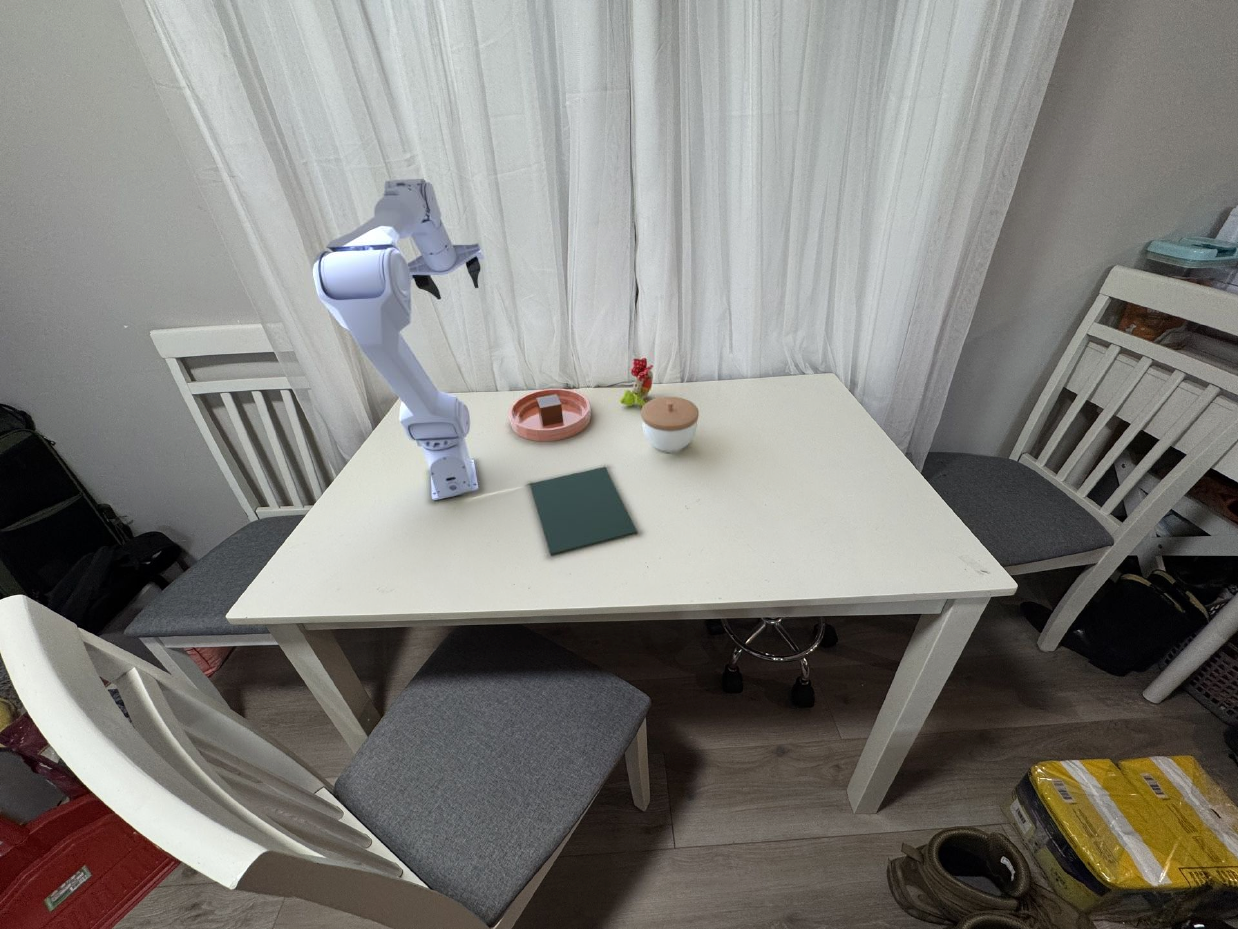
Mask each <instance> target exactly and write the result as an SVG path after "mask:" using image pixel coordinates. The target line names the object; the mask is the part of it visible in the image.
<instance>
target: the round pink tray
mask: <svg viewBox="0 0 1238 929" xmlns="http://www.w3.org/2000/svg"><path fill="white" fill-rule="evenodd" d="M555 394H557V396H558V398H559V400H560V402H561V406H562V414H563V422H561V423H556V424H551V425H546V426H543V425H542V422H541V420H540V417H539V412H538V406H537V399H536V398H539V397H545V396H550V395H555ZM591 412H592V410H591V403H590V401H589V399H588V398H587V397H586V396H585V395H583V394H582V393H581V392H579V391H576V390H573V389H567V388H545V389H539V390H535V391H532V392H530V393H526V394H524V395H523V396H521V397H519V398H517V399H516V400H515V401H514V402H513V403H512V404H511V405H510V408H509V411H508V418H509V421H510V426H511V429H512V431H513V432H514V433H515V434H516V435H517V436H518V437H521V438H524V439H525V440H528V441H529V440H530V441H535V442H541V443H542V442H555V441H556V442H557V441H560V440H566V439H568V438H571V437H573V436H575V435H577V434H579V433H580V432H582V431H583V430H585V429H586V428H587V426H588V425H589V424H590V422H591V417H592V414H591Z"/></svg>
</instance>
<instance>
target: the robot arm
mask: <svg viewBox="0 0 1238 929" xmlns="http://www.w3.org/2000/svg"><path fill="white" fill-rule="evenodd" d="M382 195H383V196H382V197H381V198H380V199H379V200H378V201H377V202H376V204H375V205H374V210H373V213H374V216H373V217H372V218H370V219H369V220H367V221H366V222H364V223H363V224H362V225H359V227H357V228H356V229H354V230H352V231H351V232H349V233H346V234H344V235H342V236H340V237H338V238H337V237H336V238H335V239H333V240H331V241H329V242H328V243H327V245H326V246H325V247H326V249H329V250H330V251H329V250H321V251H319V252H317V254H315V255H316V256H315V257H314V260H313V264H312V275H313V281H314V285H315V289H316V290H315V291H316V294H317V297H318V299H319V300H320V301H321V302H322V304H323V306H325V307H326V309H327V310H328V311H329V312H330V314H331V315H332V316H333V317H334V319H335V320H336V321H337V322H338V324H339V325H340V326H341V327H342V328H344V329H346V330H348V331H349V332H350V335H351V336H352V338H353V339H354V341H355V343H356V344H357V346H358V347H359V349H360V350H361V352H362V353H363V354H364V356H365V357H366V358H367V360H368V361H369V362H370V363H371V364H372V365H373V367H374V368H375V369H376V371H377V372H378V373H379V374H380V376H381V377H382V378H383V379H384V380H385V382H386V383H387V385H388V386H389V387H390V388H391V390H392V391H393V392H394V393H395V394H396V396H398V398H399V399H400V401H401V403H400V408H399V414H398V415H399V416H398V417H399V422H400V424H401V425H402V428H403V431H404V434H405V435H406V437H407V438H408V439H409V440H411V441H413V442H414V441H415V442H416V445H417V447H421V448H422V451H423V454H424V457H425V460H426V463H427V466H428V469H429V475H430V487H431V500H432V501H439V500H443V499H448V498H451V497H455V496H460V495H462V494H465V493H470V492H474V491H477V490H479V483H478V477H477V472H476V471H477V470H476V465H475V464H476V463H475V460H474V459H471V456H470V454H469V450H468V446H467V443H466V438H467V436H468V435H469V433H470V429H471V415H470V411H469V408H468V406H467V405H466V404H465V402H464V401H462V400H459V398H458V396H457V395H454V394H450V393H447V392H444V391H440V390H438V388H437V387H436V386H435V384H434V383H433V381H432V380H431V378H430V376H429V375H428V373H427V372H426V370H425V369H424V367H423V365H422V364H421V363H420V361H419V359H418V358H417V356H416V355H415V353H414V351H413V350H412V349H411V347H410V345H409V344H408V343H407V341H406V339H405V338H404V337H403V335H402V333H401V331H402V330H403V329H405V328H406V327H407V326H409V325H410V324H411V323H412V315H411V314H412V280H413V281H414V282H415V285H416V287H417V288H418V289H419V290H423V291H426V292H428V293H429V294H431V295H432V296H433V297H434V298H435V299H436V300H441V299H442V296H441V292H440V290H439V288H438V286H437V284H436V283H435V280H433V278H432V276H444V275H445V276H446V275H449V274H451V273H452V272H454V271H456V270H457V269H459V268H460V267H462V266H463V265H464V264H465V267H466V269H467V273H468V275H469V276H470V278H471V281H472V284H473V286H474V289H479V274H480V272H481V264H480V260H482V259H484V254H483V250H482V248H481V246H480V244H479V242H477V243H472V244H453V243H452V241H451V238H450V236H449V234H448V231H447V230H446V227H445V225H444V223H443V221H442V218H441V216H442V213H441V208H440V206H439V203H438V201H437V196H436V191H435V189H434V186H433V184H432V183H431V182H429V181H426V180H425V179H424V178H410V179H408V178H407V179H392V180H391V181H390V180H385V182H384V191H383V194H382ZM410 237H411V238H412V240H413V243H414V244H415V246H416V248H417V249H418V251H419V253H420V255H419V256H417V257H416V258H414V259H413V260H411V261H410V262H407V259H406V258H405V256H404V254H403V252H402V249H401V247H400V246H399V244H398V243H397V242H398V240H400V239H401V240H403V239H408V238H410Z"/></svg>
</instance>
